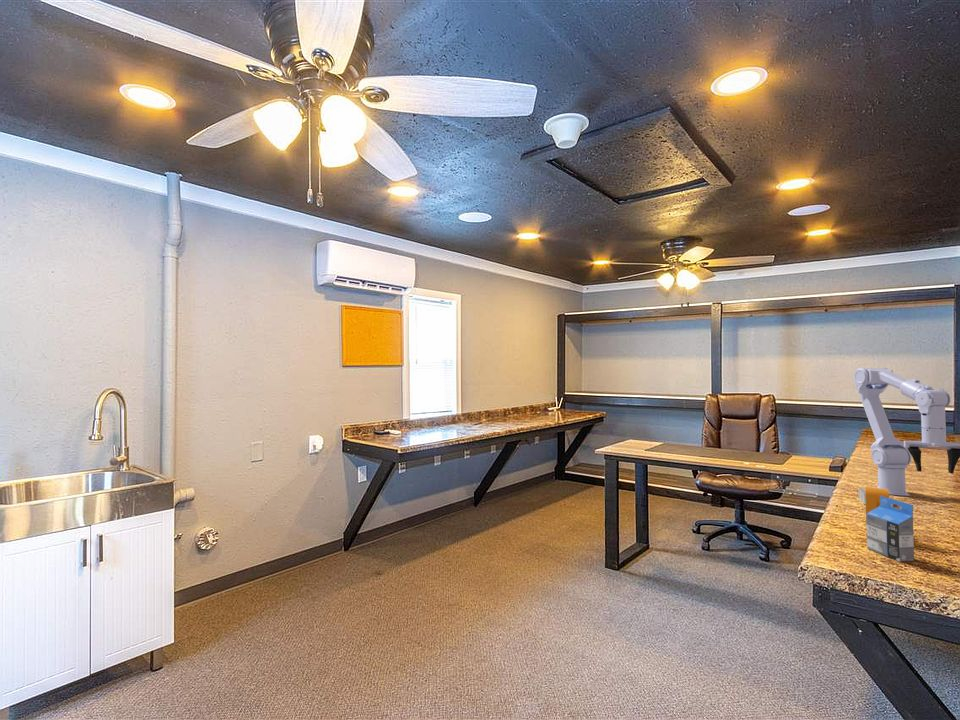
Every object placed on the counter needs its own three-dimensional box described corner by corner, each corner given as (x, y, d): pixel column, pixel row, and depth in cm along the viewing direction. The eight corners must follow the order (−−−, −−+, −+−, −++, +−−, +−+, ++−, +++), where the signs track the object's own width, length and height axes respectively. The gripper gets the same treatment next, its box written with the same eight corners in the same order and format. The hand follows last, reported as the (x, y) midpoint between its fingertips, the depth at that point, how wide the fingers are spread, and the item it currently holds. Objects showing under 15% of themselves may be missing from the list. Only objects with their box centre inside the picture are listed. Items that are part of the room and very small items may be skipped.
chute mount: (858, 498, 170) (858, 487, 170) (885, 500, 167) (885, 489, 167) (864, 504, 161) (864, 493, 161) (892, 507, 158) (892, 495, 158)
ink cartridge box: (865, 548, 121) (864, 495, 121) (881, 548, 121) (879, 495, 122) (899, 562, 112) (897, 505, 113) (916, 561, 112) (914, 504, 113)
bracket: (904, 545, 124) (902, 494, 124) (866, 539, 128) (865, 490, 128) (902, 534, 132) (901, 486, 132) (867, 529, 136) (865, 483, 137)
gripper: (907, 428, 161) (908, 472, 160) (969, 430, 154) (970, 476, 153) (901, 426, 167) (902, 468, 166) (960, 428, 160) (962, 472, 160)
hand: (934, 472), depth 160 cm, fingers open, 7 cm apart
